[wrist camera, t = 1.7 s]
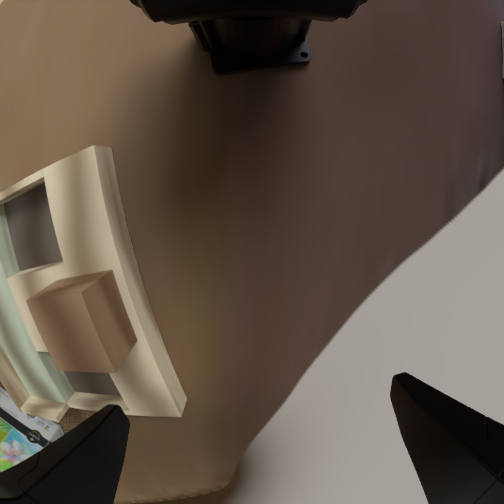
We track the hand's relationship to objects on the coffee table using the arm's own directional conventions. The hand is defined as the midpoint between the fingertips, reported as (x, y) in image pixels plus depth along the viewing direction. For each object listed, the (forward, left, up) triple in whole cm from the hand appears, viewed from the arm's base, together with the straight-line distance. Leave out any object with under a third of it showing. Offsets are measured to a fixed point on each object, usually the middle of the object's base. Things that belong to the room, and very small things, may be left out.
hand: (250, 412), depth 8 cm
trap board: (+19, 0, -12) cm, 23 cm away
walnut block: (+12, 0, -10) cm, 16 cm away
